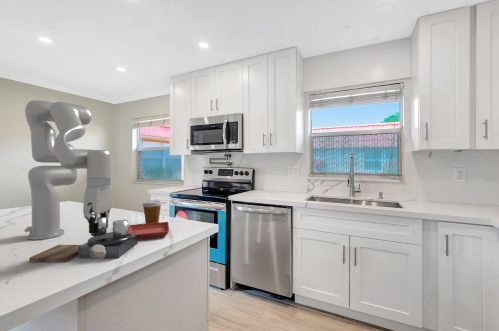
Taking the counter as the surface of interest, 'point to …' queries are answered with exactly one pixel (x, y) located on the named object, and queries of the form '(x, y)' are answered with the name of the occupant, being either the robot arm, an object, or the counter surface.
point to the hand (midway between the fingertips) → (98, 230)
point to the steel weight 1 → (101, 226)
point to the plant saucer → (149, 230)
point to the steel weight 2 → (120, 229)
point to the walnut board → (56, 254)
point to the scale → (107, 246)
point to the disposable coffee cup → (152, 211)
